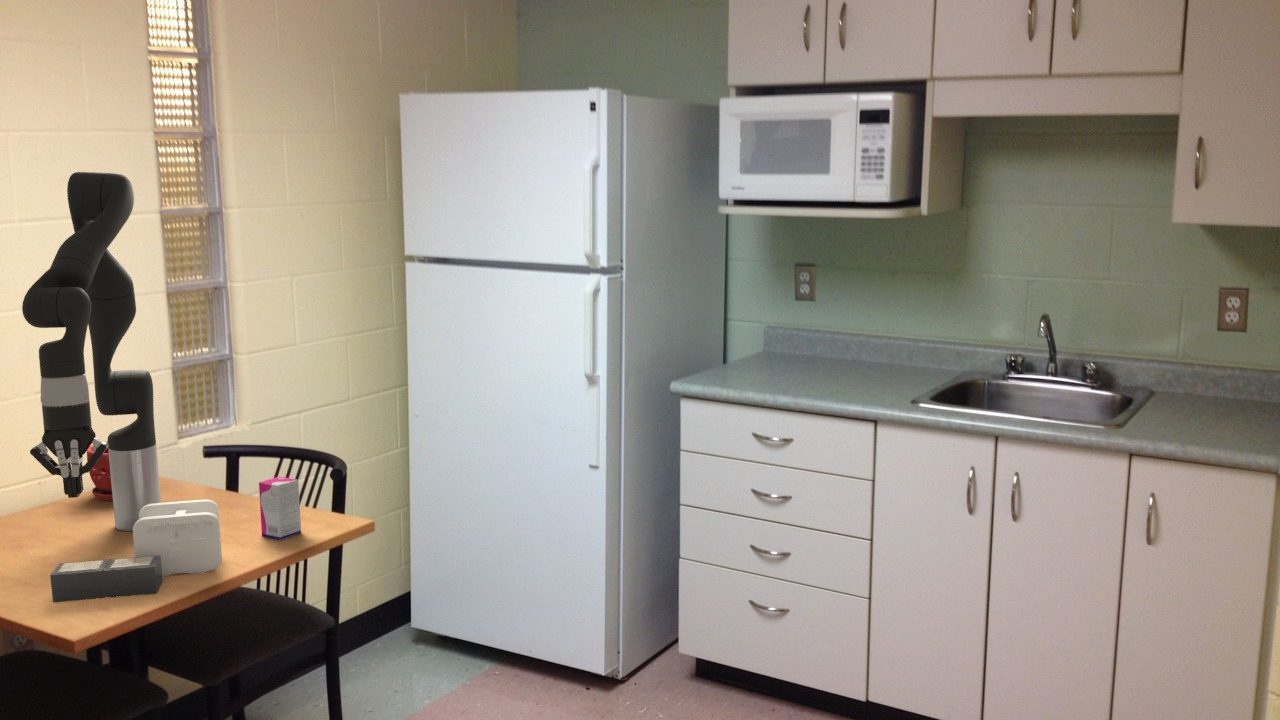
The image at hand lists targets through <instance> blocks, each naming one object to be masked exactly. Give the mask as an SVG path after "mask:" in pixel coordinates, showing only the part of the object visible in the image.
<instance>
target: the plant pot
mask: <svg viewBox="0 0 1280 720" xmlns="http://www.w3.org/2000/svg"><path fill="white" fill-rule="evenodd" d="M105 442H108V440H106V441H105ZM92 447H93V444H91V445H90V447H89V448H88V450H87V451H86V460H87V462H88V460H89V459H90V458H91V456H92V455H93V454H94V451H93V450H92ZM87 462H86V463H87ZM88 473H89V477H90V479H91V481H92V484H93V485H94V487H93V488H92V489H91V493H92V495H93V496H94V497H95V498H96V499H99V500H101V501H108V502H109V501H110V502H111V501H112V502H113V495H112V484H111V473H110V462H109V451H108V448H107V449H106V451H105V452H104V453H103V455H102V456H101V457H100V459H99V460H98V461H97V463H96V464H95V465H94V467H93V468H92V469H91V470H90V471H89V472H88Z"/></svg>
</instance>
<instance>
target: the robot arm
mask: <svg viewBox="0 0 1280 720" xmlns="http://www.w3.org/2000/svg"><path fill="white" fill-rule="evenodd" d="M66 188H67V190H66V191H67V192H66V193H67V203H68V208H69V214H70V217H71V218H70V219H71V222H72V227H73V231H74V233H72V235H70V236H68V238H66V239H65V240H64V241H63V242H62V243H61V245H60V246H59V247H58V249H57V252H56V254H55V256H54V257H53V260H52V263H51V264H50V266H49V267H50V268H49V269H47V270H46V271H45V272H44V273H43V274H42V275H41V276H40V277H39V278H38V279H37V280H36V281H35V282H34V283H33V284H32V285H31V286H30V288H29V289H28V290H27V291H26V293H25V295H24V298H23V300H22V305H21V310H22V316H23V318H24V319H25V321H26V323H28V324H29V325H30V326H32V327H34V328H39V329H48V328H49V329H50V328H51V329H52V328H54V329H58V328H61V329H62V328H65V330H64V331H65V332H64V333H63V336H62V338H61V339H56V340H52V341H48V342H47V341H46V342H45V343H43V344H41V345H40V346H39V348H38V360H39V361H38V362H39V370H40V371H39V372H40V403H41V409H42V420H43V423H42V424H43V434H42V436H41V442H39V444H37V445H35V446H33V447H32V448H31V449H30V450H29V453H30V455H31V456H32V457H33V458H34V459H35V460H36V461H38V463H40V465H41V466H42V467H43V468H44V469H45V470H46V471H48V473H50V475H52V476H55V475H56V476H60V477H61V478H62V482H63V493H64V494H65V496H68V498H69V499H70V498H71V499H74V498H78V497H80V496H81V494H82V493H83V491H84V482H83V475H84V474H86V473H87V474H88V473H89V471H90V470H91V469H92V468H93V467H94V465H95V464H96V463H97V461H98V460H99V459H100V457H101V456H102V455H103V453H104V452H105V451H106V449H107V448H108V451H109V462H110V473H111V484H112V495H113V501H112V505H113V516H114V517H113V518H114V527H115V529H117V530H119V531H128V532H131V531H132V532H133V526H134V524H135V523H136V521H138V520H139V512H140V510H141V509H142V508H143V507H144V506H146V505H148V504H153V503H162V500H161V499H162V497H161V496H162V495H161V485H160V474H159V462H158V450H157V438H156V428H155V414H154V413H155V412H154V384H153V378H152V375H151V373H150V372H149V371H148V370H146V369H127V370H123V369H122V370H112V367H111V364H112V361H113V357H114V356H115V353H116V350H117V348H118V346H119V345H120V343H121V341H122V339H123V338H124V336H125V335H126V333H127V332H128V331H129V329H130V328H131V325H132V324H133V321H134V320H135V317H136V314H137V302H136V295H135V286H134V282H133V279H132V277H131V275H130V274H129V272H128V270H127V269H126V268H125V267H124V266H123V264H122V263H121V262H120V261H119V260H118V258H117V257H116V256H115V255H114V254H113V252H112V251H111V250H110V248H109V247H110V245H111V244H112V242H113V241H114V240H115V239H116V237H117V236H118V235H119V233H120V231H121V230H122V229H123V227H124V226H125V225H126V223H127V221H128V220H129V218H130V216H131V215H132V212H133V209H134V206H135V205H134V204H135V190H134V185H133V183H132V181H131V179H130V177H128V176H126V174H122V173H115V172H99V171H98V172H96V171H94V172H93V171H75V172H73V173H72V174H70V176H69V178H68V181H67V187H66ZM88 329H89V330H88ZM87 330H88V331H89V336H90V343H91V351H92V353H91V354H92V366H93V381H94V393H95V401H96V406H97V409H98V411H99V413H100V414H101V415H103V416H123V415H125V416H127V415H136V416H137V418H136V419H135V420H134V421H132V422H131V423H130V424H128V425H126V426H124V427H121V428H119V429H117V430H114V431H112V432H110V433H109V435H108V436H107V441H108V442H106V441H102V440H101V439H99V438H98V437H96V435H97V434H96V432H95V431H94V430H93V427H92V426H93V425H92V416H91V415H92V414H91V402H90V391H89V390H90V389H89V384H88V380H87V375H86V364H85V344H86V343H85V342H86V336H87ZM92 445H93V447H92V450H93V451H94V454H93V455H92V456H91V458H90V459H89V460H88V462H86V463H85V464H84V465H83V463H84V462H83V461H84V455H85V454H87V450H88V448H89V447H90V446H92ZM48 450H49V451H48ZM48 452H51V453H52V454H53V456H54V457H56V458H57V461H55V459H53V457H51V456H50V455H49V453H48ZM57 462H58V463H57Z"/></svg>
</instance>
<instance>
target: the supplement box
mask: <svg viewBox="0 0 1280 720" xmlns="http://www.w3.org/2000/svg"><path fill="white" fill-rule="evenodd" d="M299 489H300V488H299V479H295V478H291V477H284V476H278V477H277V476H276V477H273V478H270V479H267V480H263V481H259V482H258V491H259V492H258V493H259V506H260V507H259V509H260V510H259V511H260V524H261V525H260V527H261V529H260V530H261V537H266V538H269V539H273V540H274V539H275V540H278V541H283V540H285V539H288V538H290V537H293V536H296V535H298V534H301V533H302V522H301V521H302V520H301V506H300V504H301V503H300V490H299Z"/></svg>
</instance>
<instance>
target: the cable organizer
mask: <svg viewBox="0 0 1280 720" xmlns="http://www.w3.org/2000/svg"><path fill="white" fill-rule="evenodd" d="M219 509H220V508H219V505H218V503H216V501H214V500H212V499H206V498H205V499H195V500H183V501H170V502H169V501H167V502H166V501H165V502H161V503H153V504H148V505H146V506H144V507H143V508H142V509H141V510H140V512H139V520H138V521H136V523H135V524H134V526H133V531H132V536H133V538H132V539H133V550H134V558H137V557H150V556H161V567H162V578H163V577H169V576H171V575H174V574H175V575H176V574H187V575H196V574H195V573H197V574H205V573H207V571H213V570H215V569H217V568H219V566H220V565H221V564H222V560H223V552H222V539H221V538H222V537H221V525H220V524H221V523H220V514H219V513H220V511H219Z"/></svg>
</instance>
